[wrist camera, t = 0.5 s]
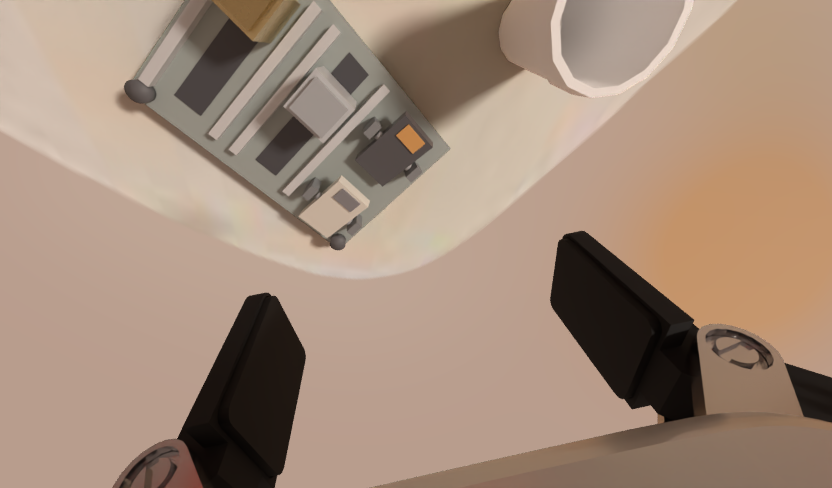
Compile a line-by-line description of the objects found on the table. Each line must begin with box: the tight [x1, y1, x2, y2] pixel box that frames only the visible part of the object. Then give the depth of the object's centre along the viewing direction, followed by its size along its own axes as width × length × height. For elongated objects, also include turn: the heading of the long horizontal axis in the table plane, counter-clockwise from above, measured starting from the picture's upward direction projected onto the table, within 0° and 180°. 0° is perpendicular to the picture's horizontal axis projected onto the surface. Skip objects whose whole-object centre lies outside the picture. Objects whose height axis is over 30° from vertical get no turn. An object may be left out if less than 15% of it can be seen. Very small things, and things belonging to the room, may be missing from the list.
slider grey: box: [283, 66, 357, 143], centre depth 26 cm, size 4×4×6 cm
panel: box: [124, 0, 450, 250], centre depth 30 cm, size 18×24×5 cm
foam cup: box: [498, 0, 694, 98], centre depth 25 cm, size 10×9×13 cm
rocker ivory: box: [298, 175, 370, 238], centre depth 33 cm, size 7×5×1 cm, turn 131°
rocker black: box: [355, 111, 433, 187], centre depth 31 cm, size 7×5×1 cm, turn 131°
